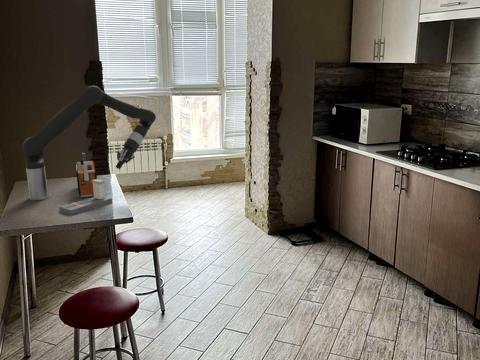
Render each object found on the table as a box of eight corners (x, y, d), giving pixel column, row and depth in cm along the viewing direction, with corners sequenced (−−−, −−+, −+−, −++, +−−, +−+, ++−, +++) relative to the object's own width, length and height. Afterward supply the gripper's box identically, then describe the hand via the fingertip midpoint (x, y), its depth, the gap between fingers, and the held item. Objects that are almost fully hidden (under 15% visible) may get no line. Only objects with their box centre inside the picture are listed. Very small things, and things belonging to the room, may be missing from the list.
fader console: (71, 215, 219) (70, 209, 218) (59, 211, 225) (59, 206, 224) (112, 202, 237) (111, 198, 237) (100, 199, 243) (100, 195, 243)
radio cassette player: (98, 197, 248) (95, 161, 243) (78, 199, 245) (74, 163, 240) (96, 184, 275) (92, 152, 270) (77, 186, 271) (74, 153, 266)
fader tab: (100, 199, 234) (98, 181, 231) (93, 197, 237) (91, 180, 235) (105, 198, 236) (103, 180, 234) (98, 196, 240) (96, 179, 237)
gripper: (121, 136, 251) (105, 162, 244) (137, 138, 243) (121, 165, 237) (130, 144, 256) (114, 170, 250) (145, 147, 248) (130, 173, 242)
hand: (117, 168), depth 243 cm, fingers closed
